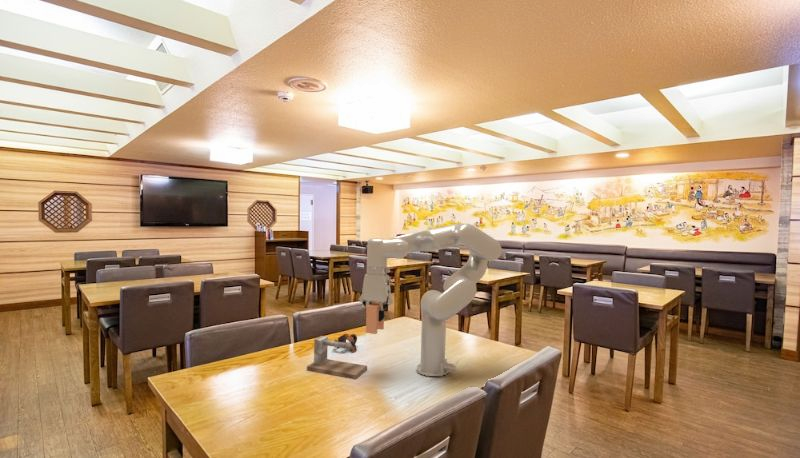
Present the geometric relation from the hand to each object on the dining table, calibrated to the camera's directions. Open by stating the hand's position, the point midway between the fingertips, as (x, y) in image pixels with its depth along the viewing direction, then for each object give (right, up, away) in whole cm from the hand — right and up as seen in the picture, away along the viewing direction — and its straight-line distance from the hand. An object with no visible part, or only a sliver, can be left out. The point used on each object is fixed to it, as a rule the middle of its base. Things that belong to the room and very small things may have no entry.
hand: (375, 319), depth 145 cm
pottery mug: (-15, -21, +29) cm, 38 cm away
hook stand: (-15, -21, +5) cm, 26 cm away
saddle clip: (0, -4, 0) cm, 4 cm away
